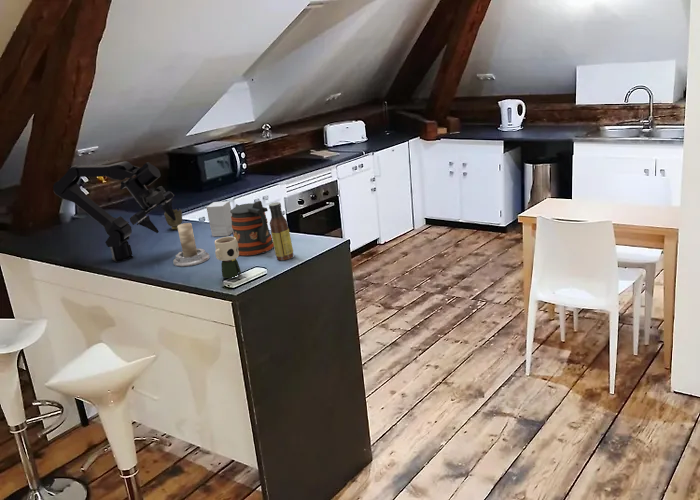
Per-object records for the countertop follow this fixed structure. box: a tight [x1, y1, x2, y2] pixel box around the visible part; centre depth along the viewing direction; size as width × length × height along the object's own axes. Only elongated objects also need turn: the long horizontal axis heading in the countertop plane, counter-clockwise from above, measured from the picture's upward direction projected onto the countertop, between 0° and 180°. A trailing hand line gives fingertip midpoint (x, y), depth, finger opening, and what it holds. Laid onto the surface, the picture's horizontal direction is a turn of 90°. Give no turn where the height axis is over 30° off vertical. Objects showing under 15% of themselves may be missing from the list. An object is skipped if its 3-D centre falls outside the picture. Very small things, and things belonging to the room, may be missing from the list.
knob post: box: [177, 222, 198, 257], centre depth 248 cm, size 5×5×12 cm
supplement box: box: [206, 200, 233, 237], centre depth 277 cm, size 7×7×13 cm
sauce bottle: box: [268, 201, 295, 261], centre depth 237 cm, size 7×6×20 cm
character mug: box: [214, 236, 242, 279], centre depth 226 cm, size 11×7×13 cm, turn 150°
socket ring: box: [172, 247, 211, 268], centre depth 250 cm, size 13×13×3 cm
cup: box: [163, 208, 183, 231], centre depth 293 cm, size 8×7×8 cm
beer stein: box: [230, 200, 274, 257], centre depth 248 cm, size 19×15×20 cm
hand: (166, 226), depth 255 cm, fingers open, 9 cm apart
